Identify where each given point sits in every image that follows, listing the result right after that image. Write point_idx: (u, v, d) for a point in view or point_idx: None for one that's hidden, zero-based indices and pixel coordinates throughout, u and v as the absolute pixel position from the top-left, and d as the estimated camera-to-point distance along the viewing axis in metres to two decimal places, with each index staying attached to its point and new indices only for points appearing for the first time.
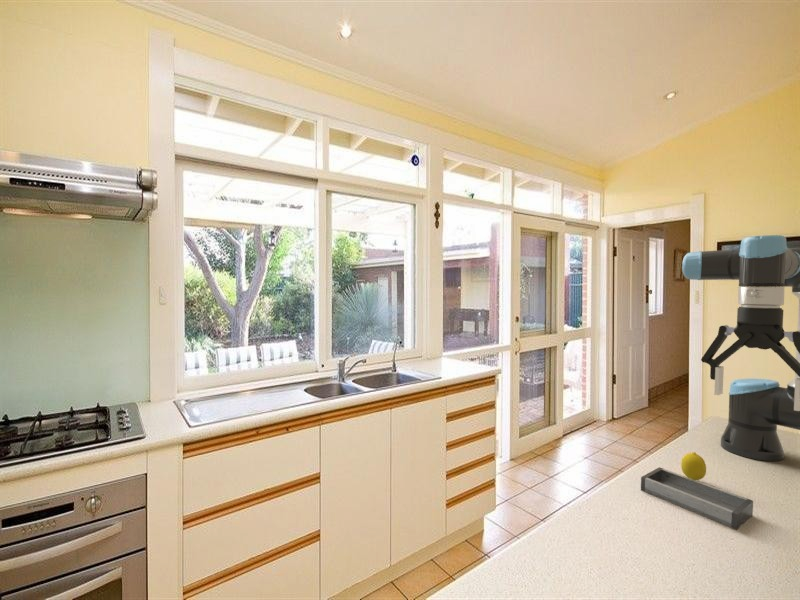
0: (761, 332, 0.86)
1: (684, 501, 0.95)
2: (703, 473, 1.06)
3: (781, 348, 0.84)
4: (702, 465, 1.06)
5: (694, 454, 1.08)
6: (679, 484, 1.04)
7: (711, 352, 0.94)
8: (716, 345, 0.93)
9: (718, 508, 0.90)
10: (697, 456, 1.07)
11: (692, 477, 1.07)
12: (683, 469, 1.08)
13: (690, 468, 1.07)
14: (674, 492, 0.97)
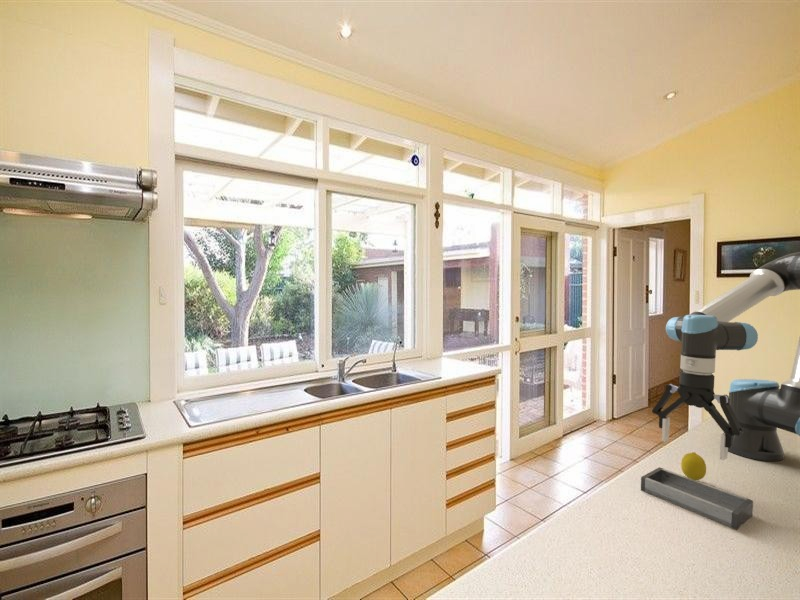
0: (697, 393, 1.06)
1: (684, 501, 0.95)
2: (703, 473, 1.06)
3: (711, 408, 1.04)
4: (702, 465, 1.06)
5: (694, 454, 1.08)
6: (679, 484, 1.04)
7: (659, 405, 1.14)
8: (663, 400, 1.13)
9: (718, 508, 0.90)
10: (697, 456, 1.07)
11: (692, 477, 1.07)
12: (683, 469, 1.08)
13: (690, 468, 1.07)
14: (674, 492, 0.97)
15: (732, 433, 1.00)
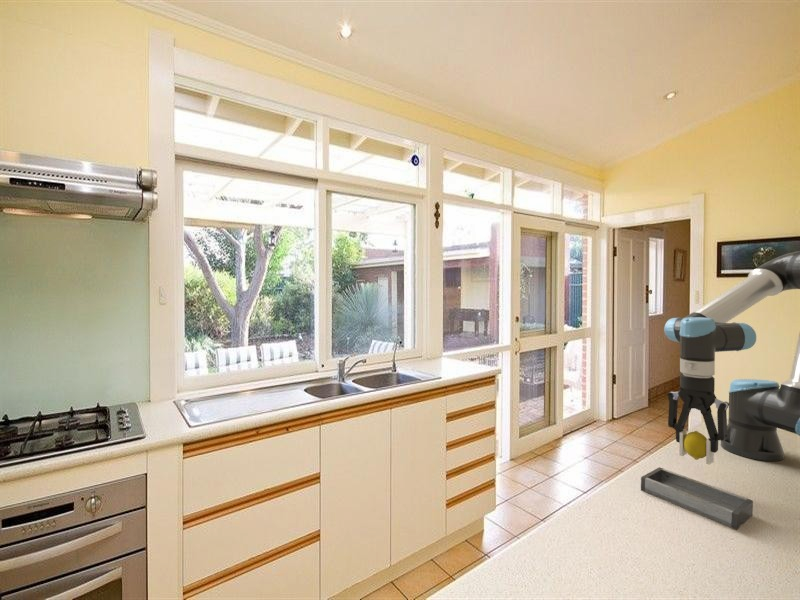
0: (699, 393, 1.06)
1: (684, 501, 0.95)
2: None
3: (707, 413, 1.05)
4: (704, 443, 1.06)
5: (697, 433, 1.07)
6: (679, 484, 1.04)
7: (672, 417, 1.12)
8: (672, 410, 1.11)
9: (718, 508, 0.90)
10: (700, 434, 1.07)
11: (695, 456, 1.07)
12: (686, 448, 1.08)
13: (693, 446, 1.06)
14: (674, 492, 0.97)
15: (717, 438, 1.04)
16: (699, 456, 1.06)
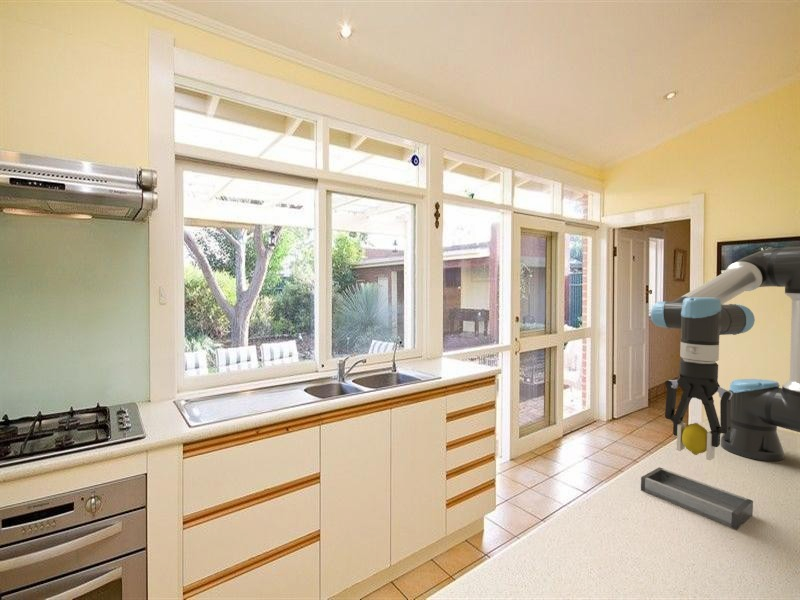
0: (700, 380, 0.95)
1: (684, 501, 0.95)
2: (706, 445, 0.95)
3: (709, 402, 0.94)
4: (705, 436, 0.95)
5: (696, 425, 0.97)
6: (679, 484, 1.04)
7: (669, 407, 1.01)
8: (670, 400, 1.01)
9: (718, 508, 0.90)
10: (700, 427, 0.96)
11: (694, 450, 0.96)
12: (684, 441, 0.98)
13: (692, 439, 0.96)
14: (674, 492, 0.97)
15: (719, 431, 0.93)
16: (698, 451, 0.95)
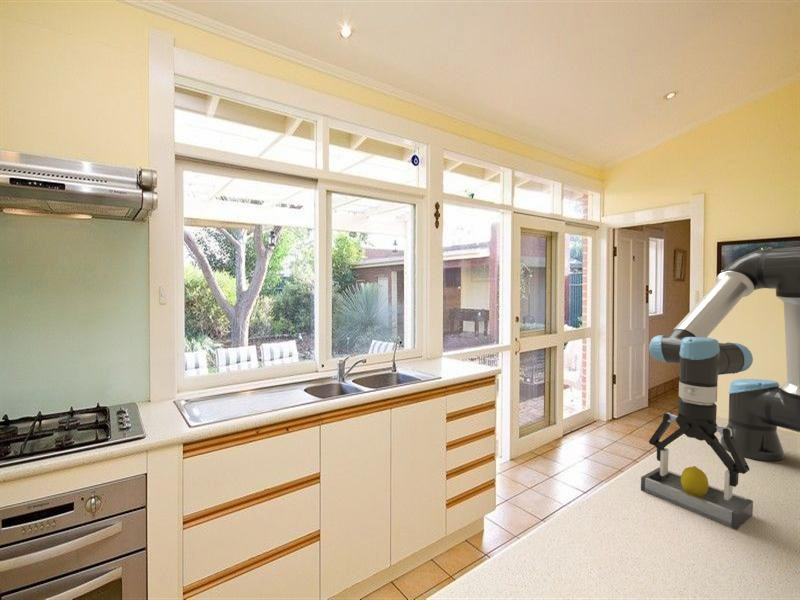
0: (697, 424, 0.96)
1: (684, 501, 0.95)
2: (705, 489, 0.95)
3: (714, 441, 0.94)
4: (704, 481, 0.95)
5: (695, 468, 0.97)
6: (679, 484, 1.04)
7: (657, 436, 1.04)
8: (661, 430, 1.03)
9: (718, 508, 0.90)
10: (698, 471, 0.97)
11: (693, 494, 0.96)
12: (683, 485, 0.98)
13: (691, 483, 0.96)
14: (674, 492, 0.97)
15: (737, 471, 0.90)
16: (697, 495, 0.96)
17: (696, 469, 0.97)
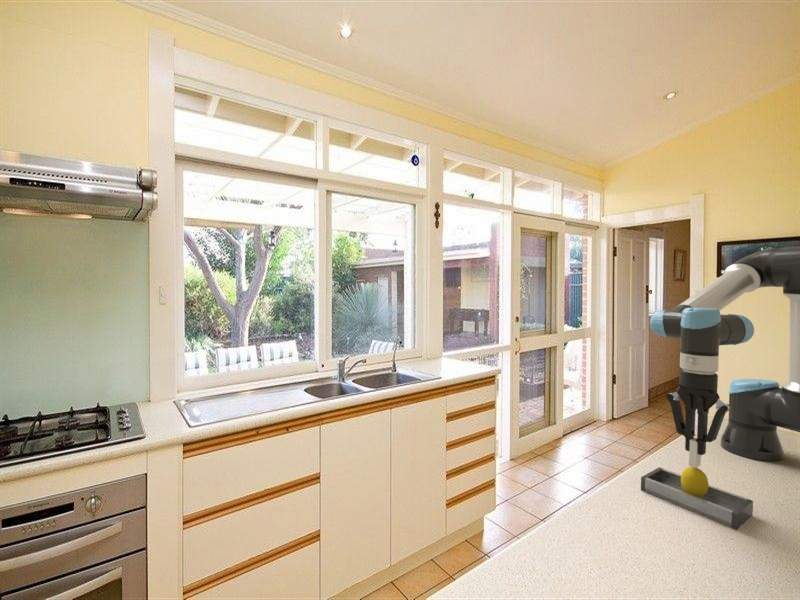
0: (702, 389, 0.95)
1: (684, 501, 0.95)
2: (705, 489, 0.95)
3: (704, 413, 0.95)
4: (704, 481, 0.95)
5: (695, 468, 0.97)
6: (679, 484, 1.04)
7: (678, 421, 0.99)
8: (676, 413, 1.00)
9: (718, 508, 0.90)
10: (698, 471, 0.97)
11: (693, 494, 0.96)
12: (683, 485, 0.98)
13: (691, 483, 0.96)
14: (674, 492, 0.97)
15: (704, 440, 0.95)
16: (697, 495, 0.96)
17: (696, 469, 0.97)
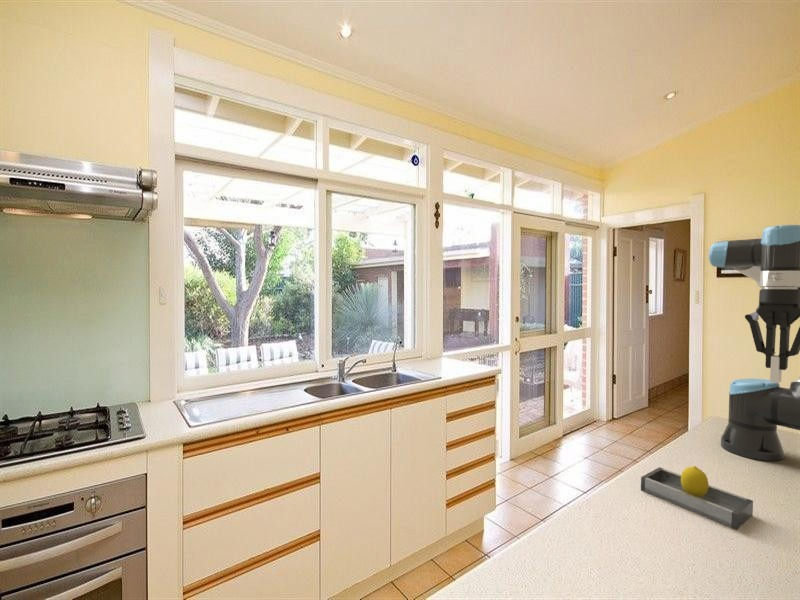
0: (785, 305, 0.97)
1: (684, 501, 0.95)
2: (705, 489, 0.95)
3: (787, 328, 0.97)
4: (704, 481, 0.95)
5: (695, 468, 0.97)
6: (679, 484, 1.04)
7: (758, 339, 1.01)
8: (756, 332, 1.02)
9: (718, 508, 0.90)
10: (698, 471, 0.97)
11: (693, 494, 0.96)
12: (683, 485, 0.98)
13: (691, 483, 0.96)
14: (674, 492, 0.97)
15: (787, 354, 0.97)
16: (697, 495, 0.96)
17: (696, 469, 0.97)
